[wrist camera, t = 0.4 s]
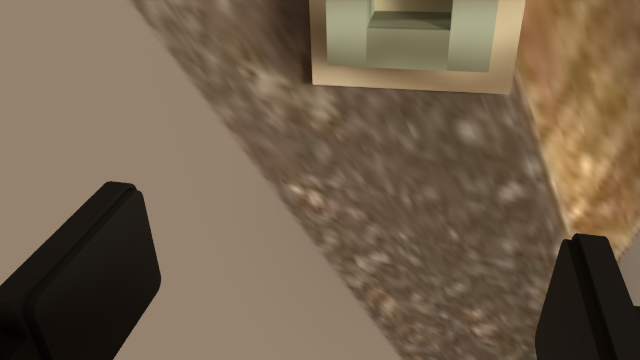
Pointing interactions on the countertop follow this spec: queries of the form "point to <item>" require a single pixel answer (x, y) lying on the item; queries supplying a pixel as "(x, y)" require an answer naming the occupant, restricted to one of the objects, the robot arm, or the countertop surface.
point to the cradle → (416, 44)
